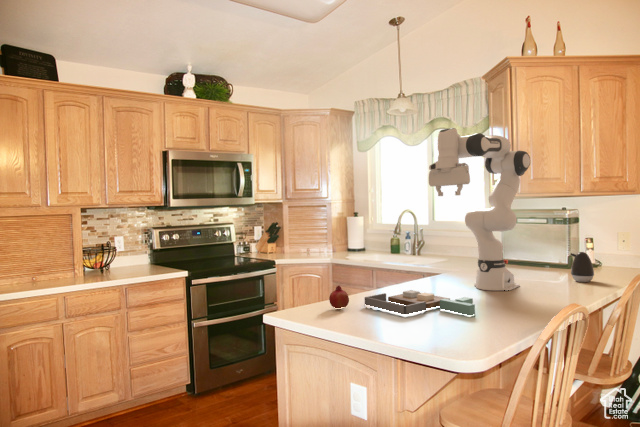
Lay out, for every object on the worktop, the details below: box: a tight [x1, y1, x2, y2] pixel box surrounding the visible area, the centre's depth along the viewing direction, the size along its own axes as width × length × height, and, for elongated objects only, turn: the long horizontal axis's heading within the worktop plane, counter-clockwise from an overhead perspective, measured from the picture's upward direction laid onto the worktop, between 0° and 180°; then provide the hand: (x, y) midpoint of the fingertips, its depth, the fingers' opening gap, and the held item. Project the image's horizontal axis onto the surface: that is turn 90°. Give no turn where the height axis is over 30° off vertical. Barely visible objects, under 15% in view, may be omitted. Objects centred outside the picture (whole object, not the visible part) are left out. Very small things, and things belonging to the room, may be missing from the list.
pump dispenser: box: [569, 251, 595, 283], centre depth 226 cm, size 10×10×15 cm
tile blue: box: [402, 289, 421, 298], centre depth 190 cm, size 5×5×2 cm
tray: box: [364, 292, 426, 314], centre depth 179 cm, size 12×23×4 cm, turn 35°
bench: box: [387, 292, 451, 308], centre depth 187 cm, size 16×20×3 cm
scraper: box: [439, 296, 476, 315], centre depth 172 cm, size 9×14×5 cm, turn 35°
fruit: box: [328, 285, 350, 309], centre depth 183 cm, size 8×8×10 cm
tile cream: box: [417, 292, 435, 301], centre depth 184 cm, size 5×5×2 cm
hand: (449, 195), depth 196 cm, fingers open, 8 cm apart
